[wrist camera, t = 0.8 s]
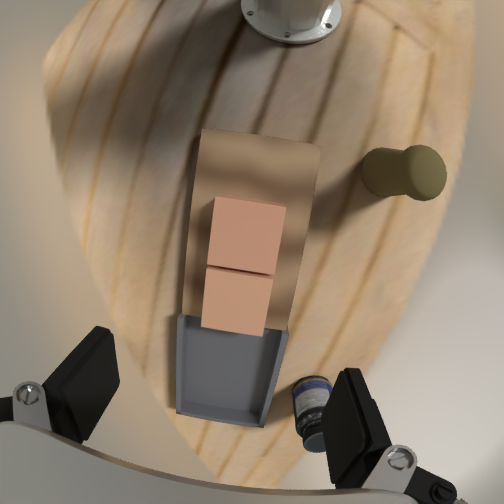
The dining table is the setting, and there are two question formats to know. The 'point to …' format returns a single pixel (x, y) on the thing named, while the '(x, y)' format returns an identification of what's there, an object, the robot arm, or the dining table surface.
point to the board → (259, 188)
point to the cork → (404, 172)
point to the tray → (226, 372)
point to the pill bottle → (311, 410)
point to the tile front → (246, 234)
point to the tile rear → (236, 300)
